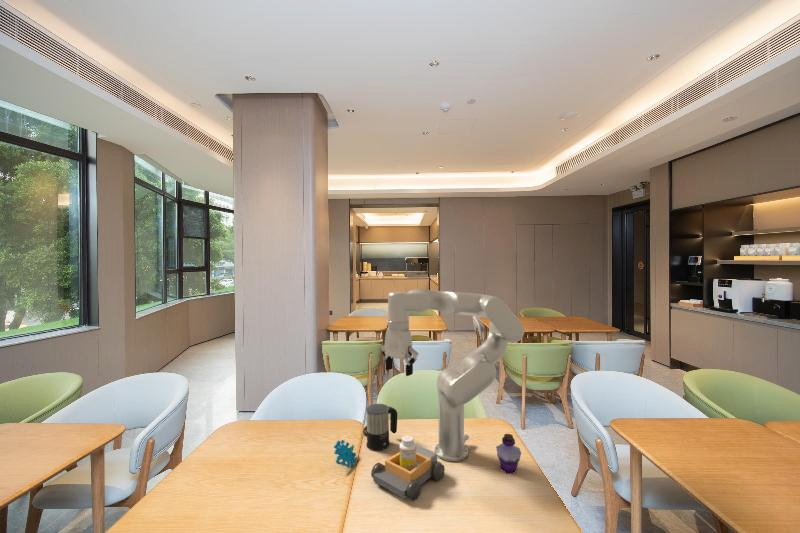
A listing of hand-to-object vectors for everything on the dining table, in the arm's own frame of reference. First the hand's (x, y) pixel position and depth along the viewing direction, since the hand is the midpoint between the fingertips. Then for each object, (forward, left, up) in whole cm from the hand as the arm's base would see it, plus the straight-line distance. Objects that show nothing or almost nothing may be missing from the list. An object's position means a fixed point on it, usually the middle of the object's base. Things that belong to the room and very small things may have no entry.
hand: (399, 372), depth 133 cm
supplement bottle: (+7, +10, -29) cm, 31 cm away
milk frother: (-4, -17, -33) cm, 37 cm away
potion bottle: (-20, +33, -32) cm, 50 cm away
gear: (+14, -13, -33) cm, 38 cm away
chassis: (+7, +10, -32) cm, 35 cm away
